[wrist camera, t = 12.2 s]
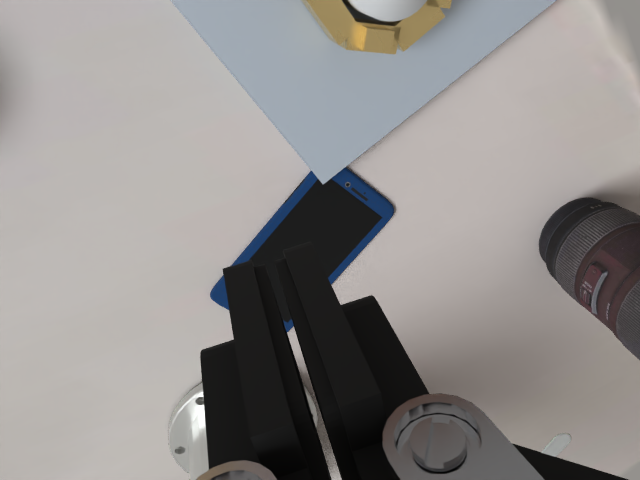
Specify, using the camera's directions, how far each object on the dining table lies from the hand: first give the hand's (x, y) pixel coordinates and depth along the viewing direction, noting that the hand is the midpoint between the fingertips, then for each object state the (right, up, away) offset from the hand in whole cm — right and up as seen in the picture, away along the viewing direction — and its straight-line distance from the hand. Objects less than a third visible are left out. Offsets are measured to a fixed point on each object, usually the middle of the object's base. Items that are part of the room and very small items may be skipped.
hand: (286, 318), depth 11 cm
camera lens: (+22, +2, +37) cm, 43 cm away
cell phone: (-1, +1, +32) cm, 32 cm away
